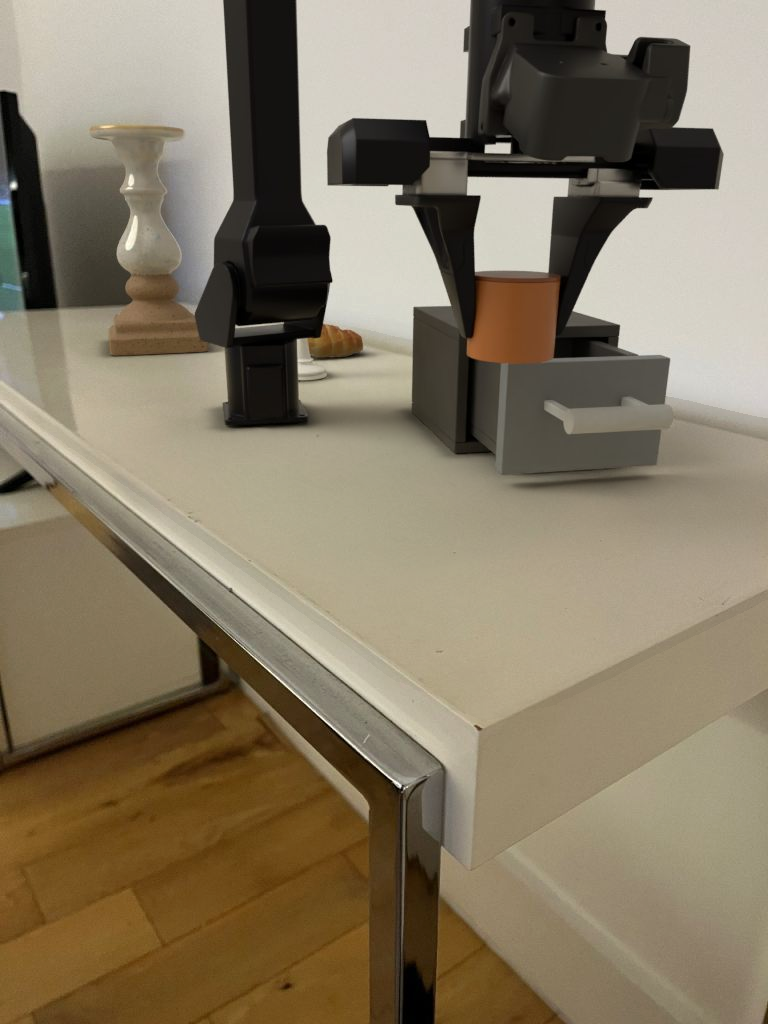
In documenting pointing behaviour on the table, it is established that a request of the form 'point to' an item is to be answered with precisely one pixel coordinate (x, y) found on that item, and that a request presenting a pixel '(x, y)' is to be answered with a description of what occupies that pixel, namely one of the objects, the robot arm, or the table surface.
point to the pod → (515, 317)
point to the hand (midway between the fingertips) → (510, 336)
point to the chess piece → (307, 363)
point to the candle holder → (148, 250)
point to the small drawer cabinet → (464, 370)
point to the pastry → (335, 342)
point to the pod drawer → (570, 409)
